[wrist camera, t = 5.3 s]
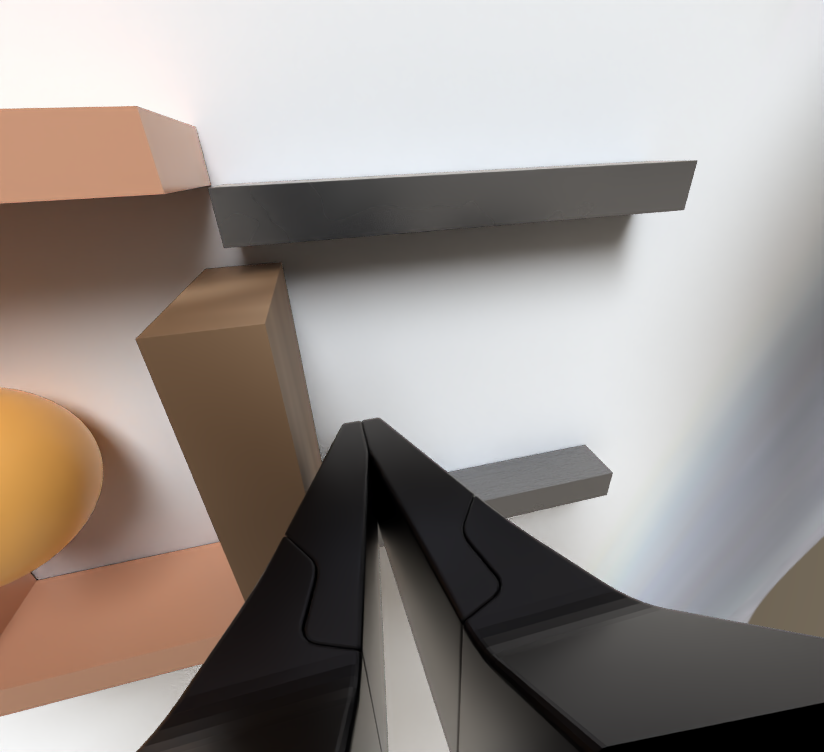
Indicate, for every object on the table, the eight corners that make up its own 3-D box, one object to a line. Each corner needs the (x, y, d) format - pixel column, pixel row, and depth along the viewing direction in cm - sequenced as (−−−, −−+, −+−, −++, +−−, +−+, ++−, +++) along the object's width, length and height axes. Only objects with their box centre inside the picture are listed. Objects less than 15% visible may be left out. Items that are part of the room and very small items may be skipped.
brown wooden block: (282, 262, 9) (264, 323, 5) (326, 486, 12) (334, 614, 9) (205, 268, 8) (135, 338, 5) (272, 496, 12) (258, 633, 8)
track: (646, 161, 10) (697, 160, 9) (580, 465, 15) (606, 494, 13) (223, 184, 8) (208, 187, 7) (307, 523, 13) (307, 563, 12)
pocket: (195, 126, 7) (137, 106, 5) (305, 545, 13) (304, 636, 11) (-406, 144, 6) (-953, 127, 3) (15, 609, 12) (-68, 733, 9)
